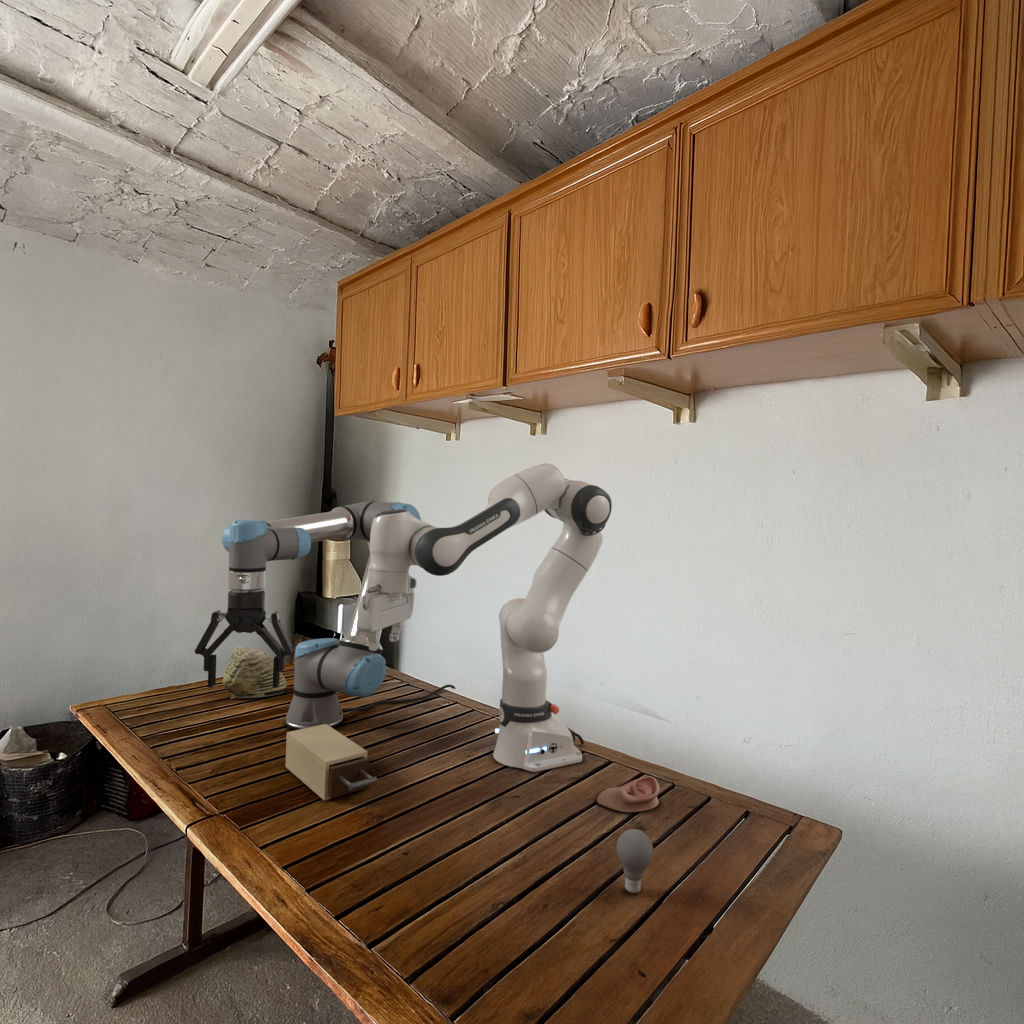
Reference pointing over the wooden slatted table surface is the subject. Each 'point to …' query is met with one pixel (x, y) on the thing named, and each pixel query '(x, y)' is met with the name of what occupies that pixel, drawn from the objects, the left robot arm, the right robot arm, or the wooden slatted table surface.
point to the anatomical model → (632, 795)
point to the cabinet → (318, 755)
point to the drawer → (349, 777)
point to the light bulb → (634, 857)
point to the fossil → (251, 674)
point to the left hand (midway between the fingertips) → (244, 686)
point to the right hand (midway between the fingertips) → (384, 645)
